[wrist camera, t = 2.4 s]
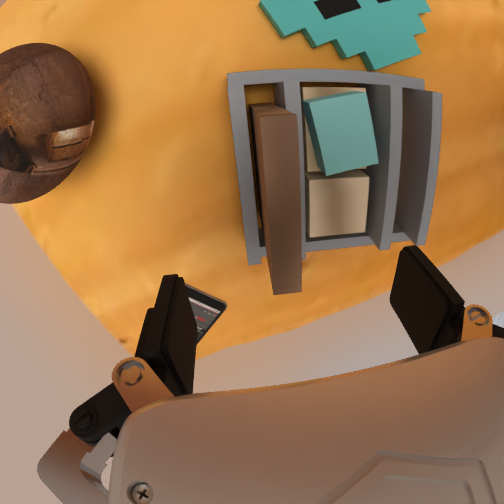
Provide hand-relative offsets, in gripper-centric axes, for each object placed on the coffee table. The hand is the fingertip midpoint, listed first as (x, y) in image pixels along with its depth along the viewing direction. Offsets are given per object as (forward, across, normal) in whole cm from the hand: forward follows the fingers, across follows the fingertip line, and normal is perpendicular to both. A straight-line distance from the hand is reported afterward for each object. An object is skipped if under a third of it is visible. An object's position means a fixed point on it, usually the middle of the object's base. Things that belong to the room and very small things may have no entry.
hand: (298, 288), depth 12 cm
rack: (+20, -7, 0) cm, 22 cm away
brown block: (+20, -1, 0) cm, 21 cm away
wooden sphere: (+21, +21, -10) cm, 31 cm away
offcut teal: (+17, -7, -4) cm, 18 cm away
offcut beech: (+21, -7, +4) cm, 22 cm away
